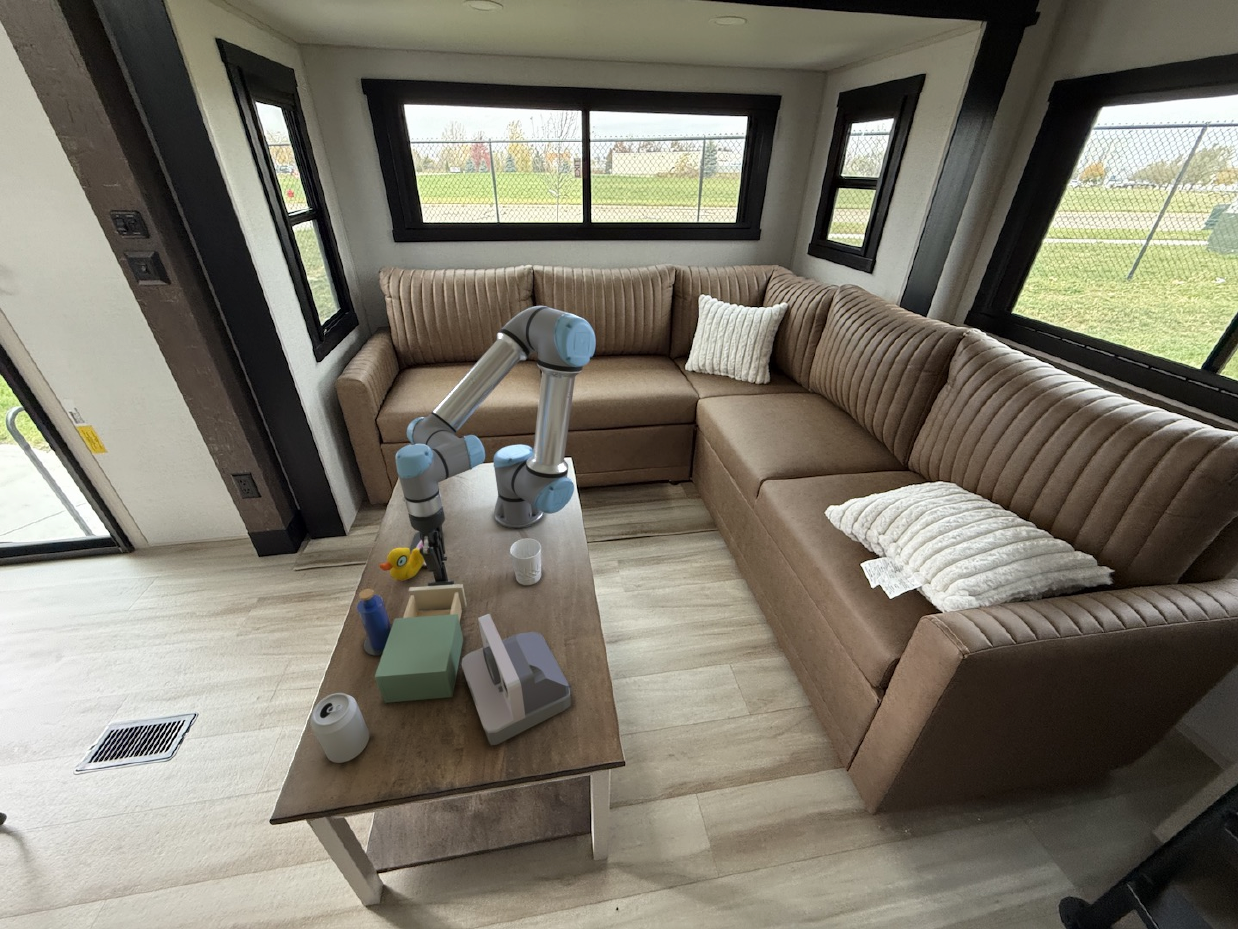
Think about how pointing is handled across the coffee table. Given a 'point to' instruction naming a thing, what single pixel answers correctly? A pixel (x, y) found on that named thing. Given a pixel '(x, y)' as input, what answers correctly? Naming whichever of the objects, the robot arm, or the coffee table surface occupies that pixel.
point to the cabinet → (420, 658)
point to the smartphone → (417, 545)
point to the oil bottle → (374, 618)
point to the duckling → (403, 563)
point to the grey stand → (514, 682)
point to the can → (339, 727)
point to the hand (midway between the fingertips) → (442, 583)
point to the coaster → (372, 651)
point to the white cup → (526, 561)
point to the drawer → (436, 599)
